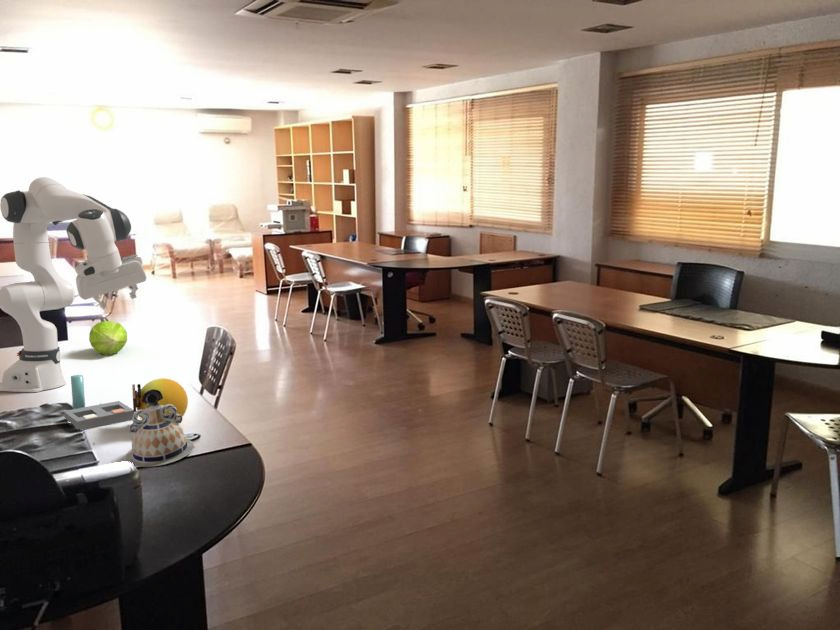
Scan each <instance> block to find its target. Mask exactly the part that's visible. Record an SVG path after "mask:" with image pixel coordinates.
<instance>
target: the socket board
mask: <svg viewBox="0 0 840 630" xmlns="http://www.w3.org/2000/svg"><path fill="white" fill-rule="evenodd" d="M134 413H135V412H134V411H133V409H132V407H130V406H128V405H126V404H125V403H123V402H122V401H120V400H117V401H111V402H106V403H105V402H104V403H100V404H96V405H88V406H85V407H83V408H78V409H73V408H72V409H69V410H68V409H67V410H63V418H64V417H65V418H66V419H67V420H68V421H69V422H71V423H72V424H73V425H74V426H75V427H76V428H77V429H83V430H82V431H84V430H89V429H94V428H99V427H104V426H110V425H113V424H118V423H123V422H128V421H132V418H133V414H134Z"/></svg>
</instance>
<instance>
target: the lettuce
mask: <svg viewBox="0 0 840 630" xmlns="http://www.w3.org/2000/svg"><path fill="white" fill-rule="evenodd" d="M88 337H89V338H88V339H89V344H90V346H91V347H92V348H93V349H94V350H95V351H96V352H97V353H99V354H101V355H103V356H107V355H108V356H109V355H114V354H117V353H119V352H120V351H122V349H123V348H124V347H125V345H126V344H127V342H128V332H127V331H126V329H125V327H124V326H123V325H122V324H121V323H120V322H115V321H112V320H111V321H109V320H103V321H100V322H97V323H96V324H94V325H93V326H92V327H91V328H90V332H89V336H88Z"/></svg>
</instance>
